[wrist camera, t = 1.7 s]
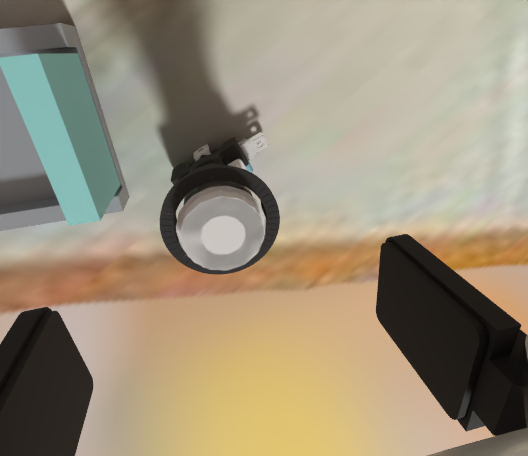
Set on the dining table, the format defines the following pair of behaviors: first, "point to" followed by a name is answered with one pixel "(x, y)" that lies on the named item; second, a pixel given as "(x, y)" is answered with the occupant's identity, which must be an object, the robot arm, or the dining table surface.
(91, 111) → the clamp jaw
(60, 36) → the tray
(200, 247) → the push button
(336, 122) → the dining table surface
